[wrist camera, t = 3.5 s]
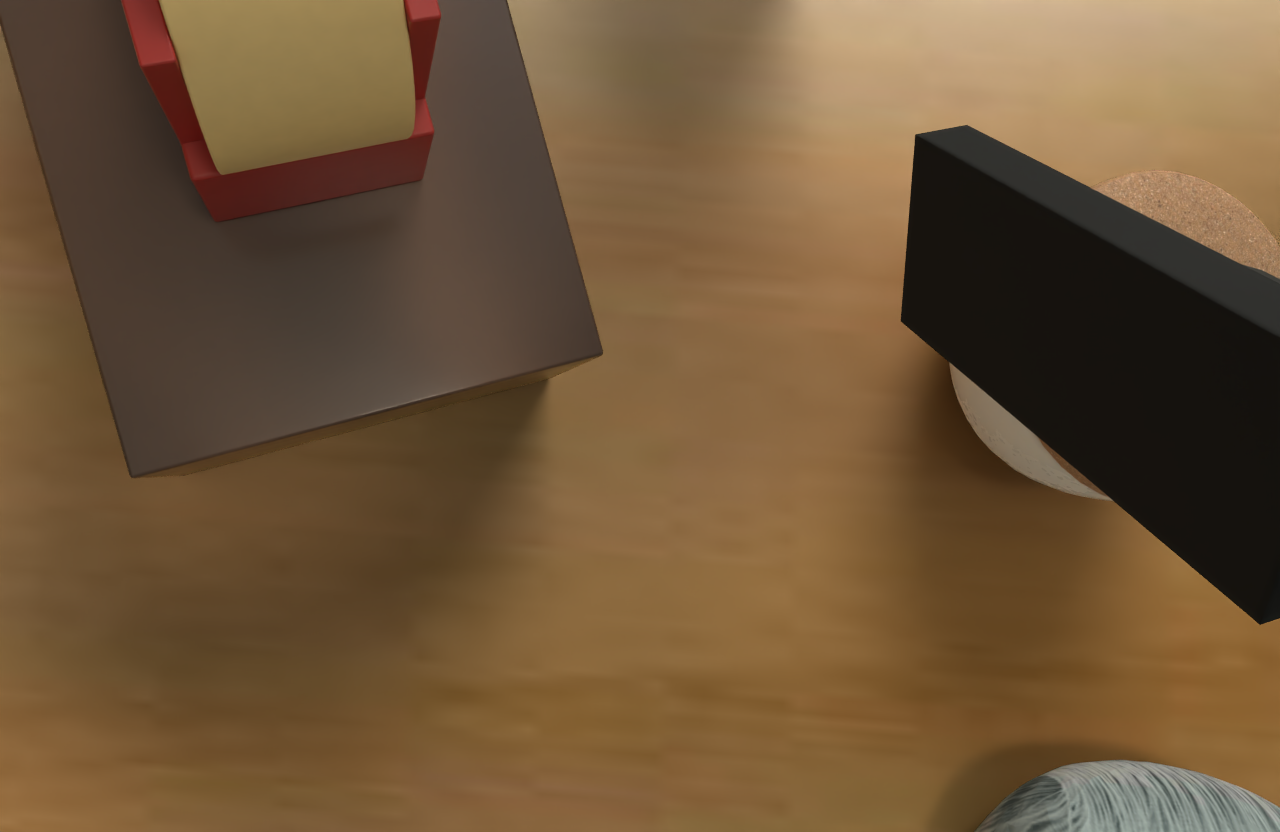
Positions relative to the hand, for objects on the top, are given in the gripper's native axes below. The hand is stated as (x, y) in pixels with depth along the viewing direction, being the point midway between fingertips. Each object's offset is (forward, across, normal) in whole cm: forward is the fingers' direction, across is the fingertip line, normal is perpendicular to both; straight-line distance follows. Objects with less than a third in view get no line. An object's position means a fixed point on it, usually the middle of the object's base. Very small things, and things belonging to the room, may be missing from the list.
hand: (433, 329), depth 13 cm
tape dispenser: (+17, +1, 0) cm, 17 cm away
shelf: (+24, +1, +5) cm, 24 cm away
